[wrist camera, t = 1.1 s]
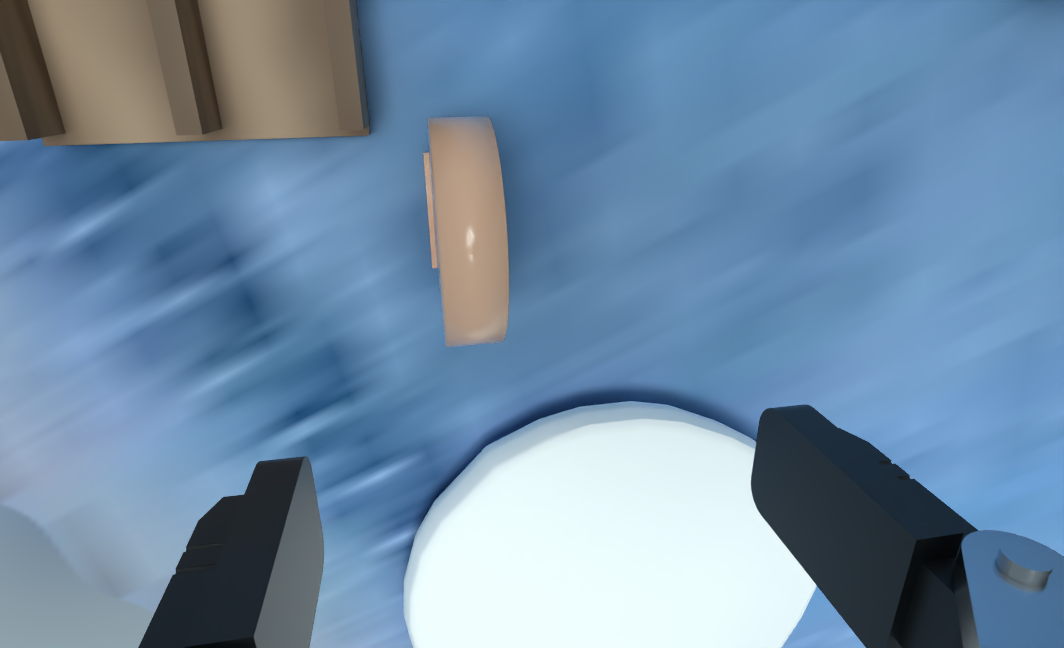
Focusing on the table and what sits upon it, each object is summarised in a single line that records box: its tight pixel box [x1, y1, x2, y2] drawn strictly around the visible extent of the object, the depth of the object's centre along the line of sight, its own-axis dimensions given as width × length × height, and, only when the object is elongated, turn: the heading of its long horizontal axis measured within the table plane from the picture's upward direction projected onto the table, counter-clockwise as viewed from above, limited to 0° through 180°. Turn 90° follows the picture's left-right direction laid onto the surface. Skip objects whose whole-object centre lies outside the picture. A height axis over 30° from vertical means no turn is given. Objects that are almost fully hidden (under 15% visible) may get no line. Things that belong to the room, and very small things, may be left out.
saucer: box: [423, 116, 509, 347], centre depth 28 cm, size 3×10×11 cm, turn 1°
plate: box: [404, 401, 816, 648], centre depth 41 cm, size 28×6×27 cm
